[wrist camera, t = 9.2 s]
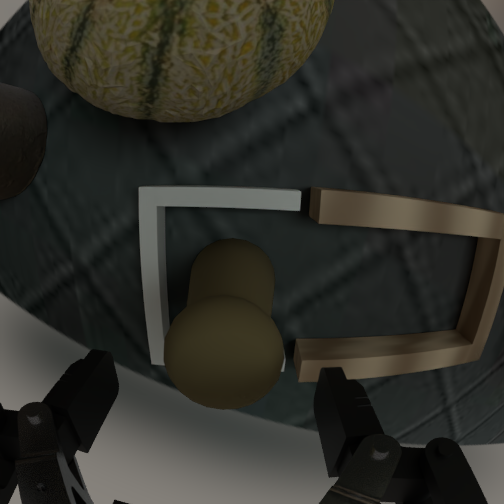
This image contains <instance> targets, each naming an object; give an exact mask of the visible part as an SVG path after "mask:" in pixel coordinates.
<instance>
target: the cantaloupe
mask: <svg viewBox="0 0 504 504" xmlns="http://www.w3.org/2000/svg"><path fill="white" fill-rule="evenodd" d="M29 3H30V14H31V21H32V24H33V28H34V31H35V36H36V40H37V43H38V47H39V49H40V51H41V53H42V56H43V59H44V61H45V62H47V65H48V68H49V69H50V70H51V72H52V73H53V74H54V75H55V76H56V77H57V78H58V79H59V80H60V81H61V82H63V83H64V84H65V85H66V86H67V87H68V89H70V90H71V91H72V92H76V93H78V94H79V95H80V96H81V97H82V98H84V99H85V100H86V101H88V102H89V103H91V104H92V105H94V106H96V107H98V108H101V109H103V110H105V111H109V112H111V113H112V114H118V115H121V116H124V117H131V118H135V119H150V120H156V121H158V122H196V121H201V120H206V119H211V118H217V117H221V116H222V115H224V114H226V113H230V112H232V111H234V110H237V109H239V108H240V107H243V106H244V105H245V104H246V103H248V102H251V101H253V100H255V99H257V98H259V97H261V96H263V95H265V94H266V93H268V92H270V91H272V90H273V89H274V88H276V87H277V86H279V85H281V84H283V83H285V82H286V81H287V80H288V79H289V77H291V76H292V75H293V74H294V73H295V72H296V71H297V70H298V69H299V68H300V67H301V66H302V65H303V64H304V62H305V61H306V60H307V58H308V57H309V56H310V54H311V53H312V51H313V50H314V49H315V47H316V45H317V44H318V42H319V40H320V38H321V36H322V33H323V31H324V28H325V26H326V24H327V21H328V19H329V16H330V14H331V12H332V8H333V4H334V0H29Z"/></svg>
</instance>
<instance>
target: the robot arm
mask: <svg viewBox="0 0 504 504" xmlns="http://www.w3.org/2000/svg"><path fill="white" fill-rule="evenodd" d="M118 391H119V383H118V378H117V374H116V370H115V366H114V361H113V356H112V354H111V353H110V352H107V351H101V350H96V349H92V350H91V351H90V352H89V353H88V355H87V356H86V357H85V359H80V360H78V361H76V362H75V363H73V364H71V365H70V367H69V368H68V369H67V370H66V371H65V374H63V375H62V377H61V378H60V380H59V381H58V382H57V383H56V384H55V385H54V387H53V388H52V389H51V390H50V392H49V393H48V394H47V396H46V397H45V398H44V400H43V401H42V402H32V403H28V404H26V405H25V406H23V407H22V408H21V409H20V411H14V410H5V409H3V407H2V405H1V403H0V504H8V503H9V501H10V499H11V497H12V495H13V493H14V490H15V488H16V486H17V484H18V486H19V492H20V497H21V501H22V504H94V503H93V501H92V500H91V498H90V496H89V494H88V491H87V488H86V486H85V483H84V480H83V478H82V475H81V472H80V469H79V466H78V463H77V460H76V457H75V456H74V455H75V453H76V451H77V450H79V451H82V452H85V453H88V452H89V450H90V448H91V446H92V444H93V442H94V440H95V438H96V436H97V434H98V432H99V430H100V428H101V426H102V424H103V422H104V420H105V418H106V416H107V414H108V413H109V411H110V409H111V407H112V405H113V403H114V401H115V399H116V397H117V395H118ZM314 414H315V418H316V422H317V427H318V431H319V435H320V439H321V444H322V449H323V453H324V457H325V462H326V466H327V471H328V476H329V478H330V477H339V478H338V480H337V482H336V483H335V484H334V486H332V487H331V488H330V489H329V491H328V492H327V493H326V495H325V496H324V498H323V499H322V500H321V502H320V503H319V504H381V503H380V502H395V503H396V504H488V503H487V501H486V499H485V497H484V494H483V492H482V490H481V488H480V486H479V484H478V482H477V480H476V478H475V476H474V474H473V471H472V470H471V467H470V466H469V464H468V462H467V460H466V458H465V456H464V454H463V452H462V450H461V448H460V447H459V445H458V444H457V443H456V442H455V441H453V440H451V439H448V438H443V437H442V438H435V439H433V440H431V441H430V442H429V443H428V444H427V445H426V447H425V448H411V447H402V446H400V444H399V443H398V441H397V440H395V439H394V438H392V437H391V436H388V435H385V434H384V432H383V429H382V427H381V425H380V423H379V420H378V418H377V416H376V414H375V412H374V409H373V407H372V406H371V403H370V400H369V398H368V396H367V394H366V392H365V390H364V387H363V386H362V385H361V384H359V383H358V382H357V381H356V380H355V379H347V378H346V376H345V373H344V371H343V369H342V367H322V368H321V370H320V373H319V378H318V383H317V387H316V392H315V396H314ZM113 504H128V503H125V502H121V501H117V500H114V502H113Z"/></svg>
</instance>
